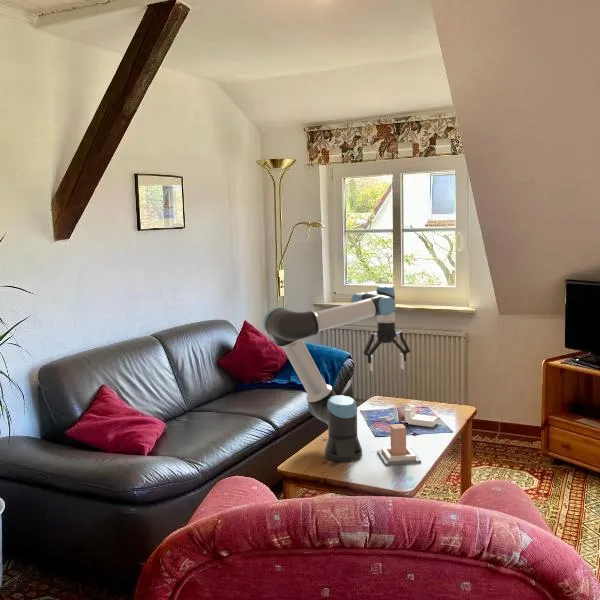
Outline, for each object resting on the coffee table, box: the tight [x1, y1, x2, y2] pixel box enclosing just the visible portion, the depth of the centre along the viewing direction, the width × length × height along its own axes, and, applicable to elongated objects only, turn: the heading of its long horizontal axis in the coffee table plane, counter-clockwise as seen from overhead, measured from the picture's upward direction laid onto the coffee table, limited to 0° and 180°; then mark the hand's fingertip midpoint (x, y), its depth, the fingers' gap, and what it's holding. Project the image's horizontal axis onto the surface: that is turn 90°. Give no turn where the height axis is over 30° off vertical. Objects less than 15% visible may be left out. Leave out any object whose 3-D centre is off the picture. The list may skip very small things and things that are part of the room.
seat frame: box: [376, 445, 422, 466], centre depth 264 cm, size 14×14×2 cm
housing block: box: [389, 423, 407, 456], centre depth 264 cm, size 5×5×12 cm
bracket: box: [404, 404, 438, 428], centre depth 303 cm, size 13×7×8 cm, turn 62°
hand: (387, 369), depth 290 cm, fingers open, 13 cm apart
